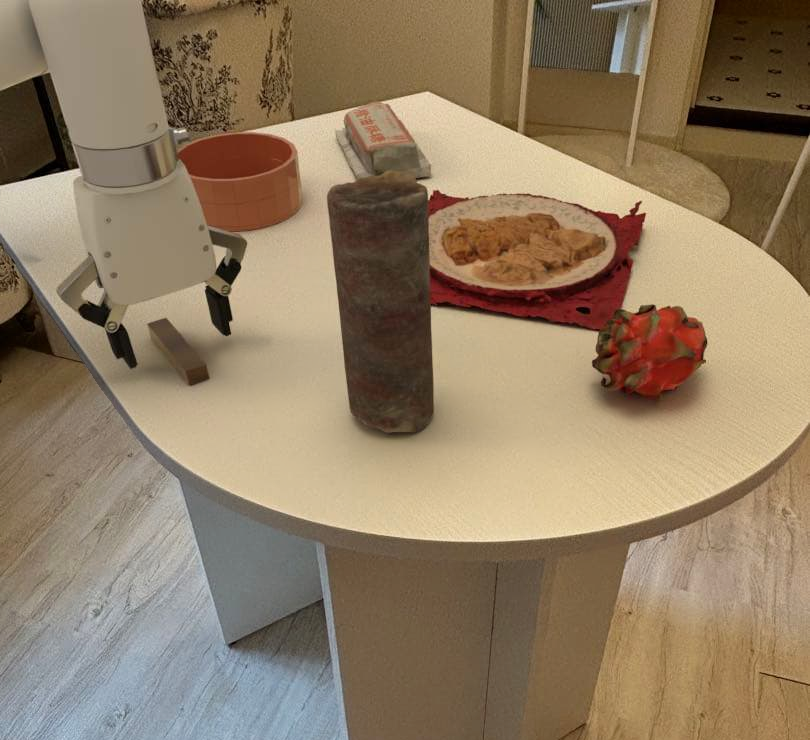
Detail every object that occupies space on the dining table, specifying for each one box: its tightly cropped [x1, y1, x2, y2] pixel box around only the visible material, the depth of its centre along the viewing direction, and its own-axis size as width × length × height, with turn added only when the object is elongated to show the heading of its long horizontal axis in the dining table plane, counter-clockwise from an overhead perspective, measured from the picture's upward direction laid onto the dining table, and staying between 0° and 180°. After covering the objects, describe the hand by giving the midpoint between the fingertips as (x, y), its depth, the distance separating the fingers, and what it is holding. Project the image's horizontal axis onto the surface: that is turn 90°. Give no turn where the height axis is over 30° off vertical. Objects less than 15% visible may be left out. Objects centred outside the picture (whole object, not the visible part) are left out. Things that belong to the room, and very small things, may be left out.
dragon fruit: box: [591, 303, 708, 404], centre depth 69 cm, size 8×8×12 cm
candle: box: [326, 170, 435, 434], centre depth 63 cm, size 8×7×20 cm
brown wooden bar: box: [146, 317, 210, 386], centre depth 76 cm, size 10×2×2 cm, turn 33°
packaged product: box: [334, 101, 432, 180], centre depth 108 cm, size 18×5×10 cm
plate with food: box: [428, 189, 647, 331], centre depth 87 cm, size 24×26×3 cm
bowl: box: [178, 131, 303, 232], centre depth 98 cm, size 15×15×6 cm
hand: (176, 345), depth 76 cm, fingers open, 9 cm apart
